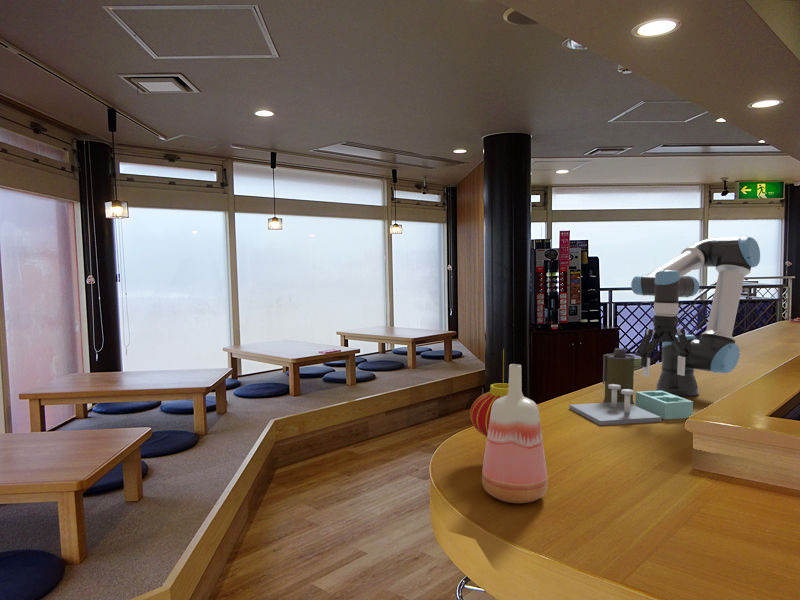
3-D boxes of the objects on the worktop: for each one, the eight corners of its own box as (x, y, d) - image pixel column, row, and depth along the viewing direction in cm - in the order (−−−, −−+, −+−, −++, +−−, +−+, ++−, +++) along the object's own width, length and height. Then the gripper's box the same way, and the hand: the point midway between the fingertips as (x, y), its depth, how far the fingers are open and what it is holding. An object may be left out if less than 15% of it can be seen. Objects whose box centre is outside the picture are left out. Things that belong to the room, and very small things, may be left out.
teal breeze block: (660, 405, 193) (661, 390, 192) (692, 417, 177) (693, 401, 177) (635, 406, 191) (635, 391, 190) (664, 419, 175) (665, 403, 175)
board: (625, 405, 192) (625, 380, 192) (661, 421, 173) (662, 393, 172) (569, 408, 188) (569, 383, 188) (600, 425, 169) (600, 397, 168)
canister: (628, 398, 203) (629, 346, 202) (637, 405, 193) (639, 351, 191) (599, 397, 204) (600, 346, 203) (607, 404, 194) (608, 351, 192)
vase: (535, 515, 108) (537, 374, 106) (471, 499, 116) (472, 367, 114) (555, 490, 121) (557, 362, 119) (495, 477, 128) (496, 357, 126)
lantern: (463, 468, 134) (464, 352, 132) (477, 446, 150) (478, 342, 148) (531, 477, 128) (533, 355, 126) (538, 453, 144) (540, 345, 142)
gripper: (689, 313, 187) (687, 372, 189) (626, 314, 183) (624, 374, 184) (705, 315, 180) (703, 376, 181) (639, 316, 176) (637, 379, 177)
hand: (663, 375), depth 183 cm, fingers open, 13 cm apart
